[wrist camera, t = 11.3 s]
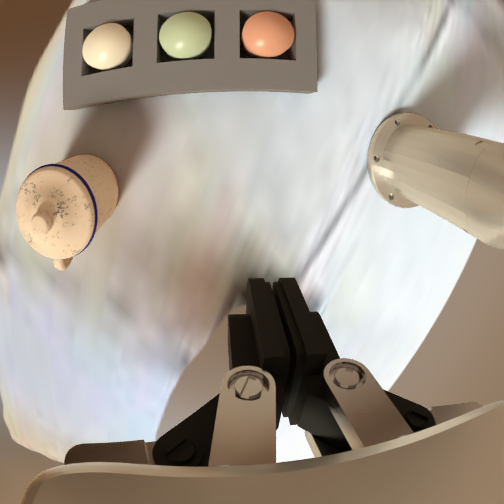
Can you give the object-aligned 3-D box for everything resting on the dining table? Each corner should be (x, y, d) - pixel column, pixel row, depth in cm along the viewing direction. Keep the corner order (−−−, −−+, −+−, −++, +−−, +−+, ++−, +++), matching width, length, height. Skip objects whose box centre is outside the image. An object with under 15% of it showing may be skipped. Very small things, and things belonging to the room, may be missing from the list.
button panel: (306, 0, 25) (314, -9, 22) (308, 93, 30) (317, 91, 27) (77, 16, 22) (67, 9, 19) (74, 109, 27) (63, 109, 24)
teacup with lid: (59, 146, 28) (2, 163, 18) (128, 159, 30) (91, 182, 20) (49, 239, 32) (4, 286, 22) (112, 256, 35) (81, 311, 24)
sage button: (211, 19, 24) (211, 10, 22) (211, 60, 27) (211, 54, 24) (163, 22, 24) (159, 14, 21) (163, 64, 26) (158, 58, 23)
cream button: (136, 26, 23) (129, 18, 21) (135, 67, 26) (128, 63, 23) (93, 35, 23) (83, 29, 20) (92, 75, 25) (81, 72, 22)
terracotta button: (286, 21, 25) (293, 13, 23) (287, 61, 28) (294, 56, 25) (240, 19, 25) (243, 10, 22) (240, 59, 27) (243, 54, 24)
